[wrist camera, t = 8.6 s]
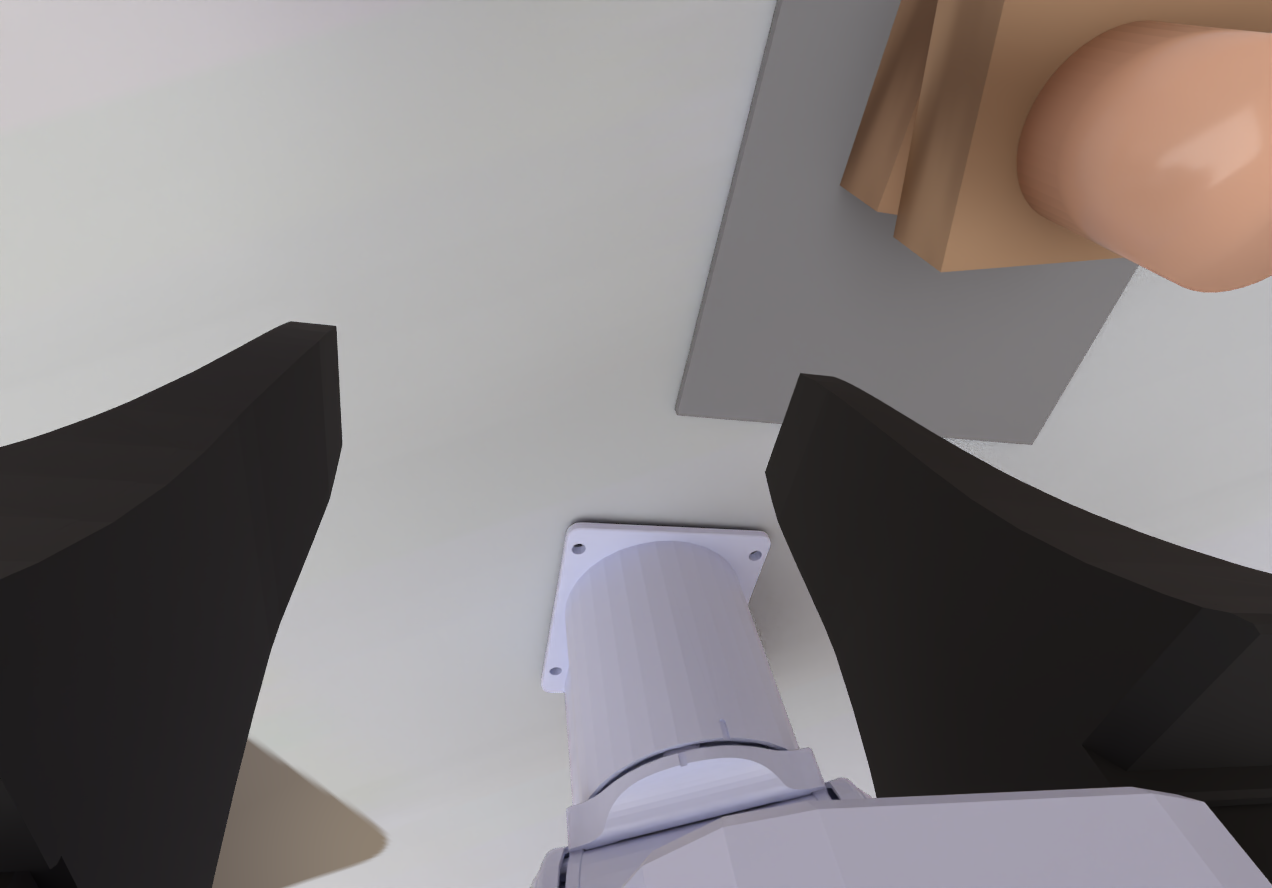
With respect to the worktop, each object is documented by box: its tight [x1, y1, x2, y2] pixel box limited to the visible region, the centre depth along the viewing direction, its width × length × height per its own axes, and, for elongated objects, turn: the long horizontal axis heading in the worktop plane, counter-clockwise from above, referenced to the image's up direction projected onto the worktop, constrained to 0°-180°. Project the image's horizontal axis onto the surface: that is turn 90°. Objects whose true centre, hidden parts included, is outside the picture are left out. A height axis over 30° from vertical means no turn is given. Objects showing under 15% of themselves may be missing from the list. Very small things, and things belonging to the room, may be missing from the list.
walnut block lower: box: [840, 0, 938, 215], centre depth 18 cm, size 6×6×2 cm
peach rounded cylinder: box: [1017, 20, 1272, 292], centre depth 13 cm, size 4×4×4 cm
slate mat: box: [675, 0, 1272, 445], centre depth 21 cm, size 16×14×1 cm
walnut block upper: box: [893, 0, 1272, 272], centre depth 16 cm, size 6×6×2 cm
